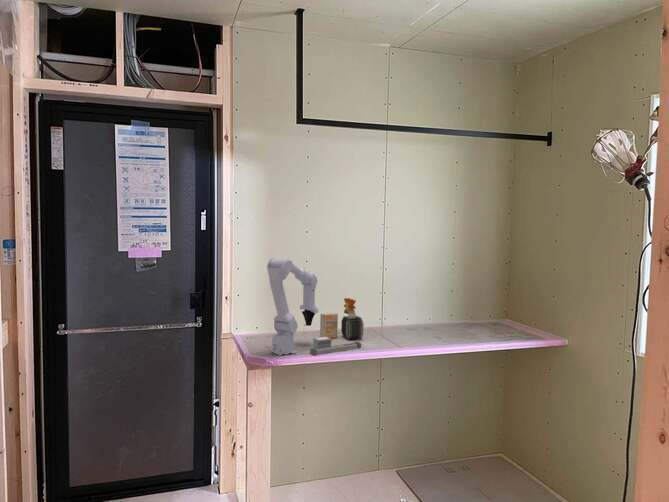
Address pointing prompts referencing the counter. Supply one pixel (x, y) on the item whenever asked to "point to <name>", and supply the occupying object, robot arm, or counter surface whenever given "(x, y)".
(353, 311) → the bomb
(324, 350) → the rail
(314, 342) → the block
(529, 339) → the counter surface
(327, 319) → the supplement box
